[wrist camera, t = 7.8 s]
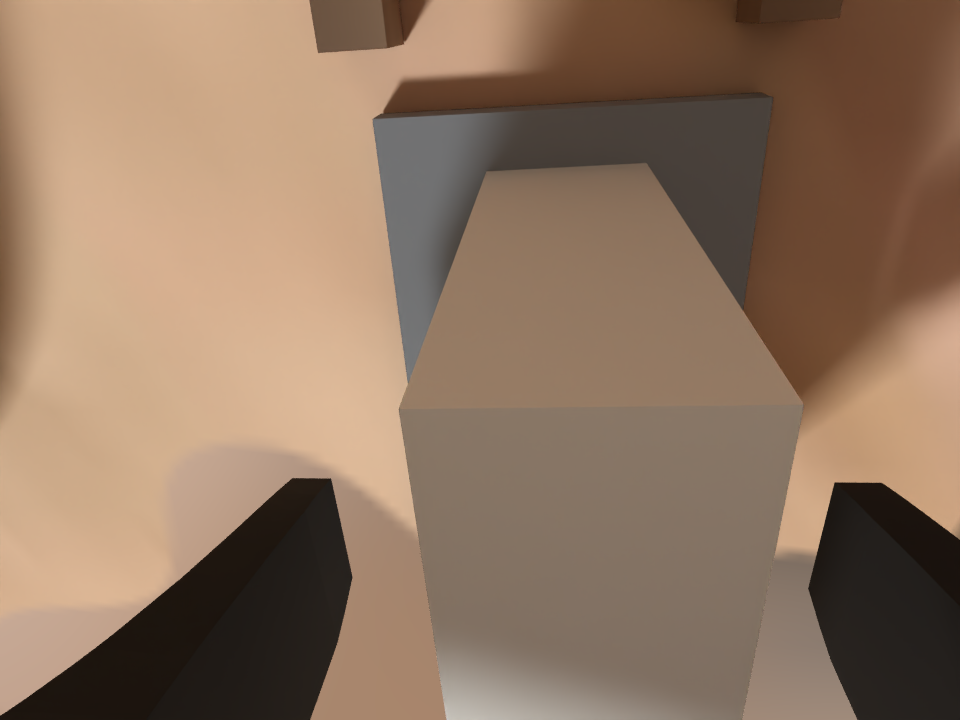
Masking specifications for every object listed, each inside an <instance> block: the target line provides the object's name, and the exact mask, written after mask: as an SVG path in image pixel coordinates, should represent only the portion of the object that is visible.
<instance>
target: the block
mask: <svg viewBox="0 0 960 720" xmlns="http://www.w3.org/2000/svg"><path fill="white" fill-rule="evenodd" d="M803 408H804V404H803V402H802V401H801V399H800V398H799V396H798V395H797V393H796V391H795V390H794V388H793V387H792V385H791V384H790V382H789V381H788V379H787V378H786V376H785V375H784V373H783V372H782V370H781V368H780V367H779V365H778V364H777V362H776V361H775V359H774V358H773V356H772V355H771V353H770V352H769V350H768V349H767V347H766V345H765V344H764V342H763V341H762V339H761V338H760V336H759V335H758V333H757V332H756V330H755V329H754V327H753V326H752V324H751V322H750V321H749V319H748V318H747V316H746V315H745V313H744V312H743V310H742V309H741V307H740V306H739V304H738V303H737V301H736V299H735V298H734V296H733V295H732V293H731V292H730V290H729V289H728V287H727V286H726V284H725V283H724V281H723V280H722V278H721V276H720V275H719V273H718V272H717V270H716V269H715V267H714V266H713V264H712V263H711V261H710V260H709V258H708V257H707V255H706V253H705V252H704V250H703V249H702V247H701V246H700V244H699V243H698V241H697V240H696V238H695V237H694V235H693V234H692V232H691V230H690V229H689V227H688V226H687V224H686V223H685V221H684V220H683V218H682V217H681V215H680V214H679V212H678V210H677V209H676V207H675V206H674V204H673V203H672V201H671V200H670V198H669V197H668V195H667V194H666V192H665V191H664V189H663V187H662V186H661V184H660V183H659V181H658V180H657V178H656V177H655V175H654V174H653V172H652V171H651V169H650V168H649V166H648V164H647V163H637V164H618V165H598V166H579V167H560V168H541V169H522V170H503V171H486V174H485V177H484V179H483V182H482V185H481V188H480V190H479V193H478V196H477V198H476V201H475V204H474V207H473V209H472V212H471V215H470V217H469V220H468V223H467V226H466V228H465V231H464V234H463V236H462V239H461V242H460V245H459V247H458V250H457V253H456V255H455V258H454V261H453V264H452V266H451V269H450V272H449V274H448V277H447V280H446V282H445V285H444V288H443V291H442V293H441V296H440V299H439V301H438V304H437V307H436V310H435V312H434V315H433V318H432V320H431V323H430V326H429V329H428V331H427V334H426V337H425V339H424V342H423V345H422V348H421V350H420V353H419V356H418V358H417V361H416V364H415V367H414V369H413V372H412V375H411V377H410V380H409V383H408V386H407V388H406V391H405V394H404V396H403V399H402V402H401V405H400V407H399V414H400V420H401V427H402V433H403V440H404V446H405V453H406V459H407V466H408V472H409V479H410V485H411V492H412V498H413V505H414V511H415V518H416V524H417V531H418V537H419V544H420V550H421V557H422V563H423V569H424V576H425V583H426V589H427V596H428V602H429V609H430V616H431V622H432V628H433V635H434V642H435V648H436V655H437V661H438V667H439V674H440V681H441V687H442V693H443V700H444V707H445V713H446V720H742V718H743V712H744V707H745V703H746V698H747V693H748V688H749V682H750V677H751V672H752V667H753V661H754V657H755V651H756V647H757V642H758V637H759V631H760V627H761V621H762V616H763V611H764V606H765V601H766V596H767V591H768V586H769V580H770V576H771V571H772V566H773V561H774V555H775V550H776V545H777V540H778V535H779V530H780V525H781V520H782V515H783V510H784V505H785V500H786V494H787V489H788V484H789V479H790V474H791V469H792V464H793V459H794V454H795V449H796V444H797V439H798V434H799V428H800V423H801V418H802V413H803Z"/></svg>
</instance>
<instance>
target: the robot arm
mask: <svg viewBox="0 0 960 720" xmlns="http://www.w3.org/2000/svg"><path fill="white" fill-rule="evenodd" d="M351 581H352V573H351V568H350V564H349V560H348V555H347V550H346V545H345V541H344V536H343V532H342V527H341V522H340V518H339V513H338V509H337V504H336V499H335V495H334V490H333V485H332V481H331V479H315V478H309V479H306V478H292V479H291V480H290V481H289V482H287V484H285V485H284V486H283V487H282V488H281V489H280V490H278V491H277V492H276V493H275V494H274V495H273V496H272V497H271V498H269V499H268V500H267V501H266V502H265V503H264V504H263V505H262V506H261V507H260V508H258V509H257V510H256V511H255V512H254V513H253V514H252V515H251V516H250V517H249V518H248V519H247V520H245V521H244V522H243V523H242V524H241V525H240V526H239V527H238V528H237V529H236V530H235V531H234V532H232V533H231V534H230V535H229V536H228V537H227V538H226V539H225V540H224V541H222V542H221V543H220V544H219V545H218V546H217V547H216V548H215V549H213V550H212V551H211V552H210V553H209V554H208V555H207V556H206V557H204V558H203V560H201V561H200V562H199V563H198V564H197V565H196V566H194V567H193V568H192V569H191V570H190V571H189V572H188V573H187V574H185V575H184V576H183V577H182V578H181V579H180V580H178V581H177V582H176V583H175V584H174V585H172V586H171V587H170V588H169V589H168V590H166V591H165V592H164V593H163V594H161V595H160V596H159V597H158V598H157V599H155V600H154V601H153V602H152V603H151V604H149V605H148V606H147V607H146V608H144V609H143V610H142V611H141V612H140V613H138V614H137V615H136V616H135V617H134V618H132V619H131V620H130V621H129V622H128V623H126V624H125V625H124V626H123V627H122V628H121V629H119V630H118V631H117V632H115V633H114V634H113V635H112V636H110V637H109V638H108V639H107V640H105V641H104V642H103V643H101V644H100V645H99V646H97V647H96V648H95V649H93V650H92V651H91V652H89V653H88V654H87V655H85V656H84V657H83V658H82V659H80V660H79V661H78V662H76V663H75V664H74V665H72V666H71V667H69V668H68V669H67V670H65V671H64V672H62V673H61V674H60V675H58V676H57V677H55V678H54V679H53V680H51V681H50V682H48V683H47V684H46V685H44V686H43V687H42V688H40V689H39V690H37V691H36V692H34V693H33V694H32V695H30V696H29V697H27V698H26V699H24V700H23V701H22V702H20V703H19V704H17V705H16V706H14V707H13V708H11V709H10V710H9V711H7V712H5V713H4V714H2V715H1V716H0V720H310V718H311V715H312V713H313V710H314V707H315V704H316V702H317V699H318V696H319V693H320V691H321V688H322V685H323V682H324V679H325V676H326V674H327V671H328V668H329V665H330V662H331V660H332V657H333V654H334V651H335V648H336V645H337V642H338V638H339V634H340V630H341V626H342V621H343V617H344V613H345V609H346V604H347V600H348V595H349V590H350V586H351ZM808 589H809V592H810V596H811V599H812V602H813V606H814V609H815V611H816V616H817V619H818V622H819V626H820V629H821V632H822V635H823V638H824V641H825V644H826V647H827V650H828V653H829V656H830V659H831V662H832V663H833V666H834V668H835V671H836V673H837V675H838V677H839V680H840V682H841V684H842V686H843V689H844V691H845V693H846V695H847V697H848V700H849V701H850V704H851V706H852V708H853V711H854V713H855V715H856V717H857V720H960V540H959V539H958V538H957V537H955V536H954V535H953V534H951V533H950V532H949V531H947V530H946V529H945V528H943V527H942V526H941V525H939V524H938V523H937V522H935V521H934V520H933V519H931V518H930V517H929V516H927V515H926V514H925V513H923V512H922V511H921V510H919V509H918V508H916V507H915V506H914V505H912V504H911V503H910V502H908V501H907V500H906V499H904V498H903V497H901V496H900V495H899V494H897V493H896V492H894V491H893V490H891V489H890V488H888V487H887V486H886V485H884V484H883V483H834V487H833V491H832V495H831V499H830V503H829V507H828V511H827V515H826V520H825V524H824V528H823V532H822V536H821V540H820V544H819V548H818V552H817V556H816V560H815V564H814V568H813V572H812V576H811V580H810V584H809V588H808Z"/></svg>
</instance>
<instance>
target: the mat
mask: <svg viewBox="0 0 960 720" xmlns="http://www.w3.org/2000/svg"><path fill="white" fill-rule="evenodd" d="M772 103H773V97H771V96H769V95H766V94H763V93H746V94H728V95H710V96H692V97H674V98H656V99H638V100H620V101H602V102H584V103H566V104H547V105H529V106H511V107H493V108H475V109H457V110H439V111H421V112H403V113H385V114H380V115H378V116H377V117H375V118H374V119H373V126H374V134H375V141H376V149H377V156H378V164H379V171H380V179H381V186H382V193H383V201H384V208H385V216H386V223H387V231H388V238H389V246H390V253H391V261H392V268H393V276H394V283H395V290H396V298H397V305H398V313H399V320H400V328H401V335H402V343H403V350H404V358H405V365H406V372H407V380H408V383H409V380H410V377H411V375H412V372H413V369H414V367H415V364H416V361H417V358H418V356H419V353H420V350H421V348H422V345H423V342H424V339H425V337H426V334H427V331H428V329H429V326H430V323H431V320H432V318H433V315H434V312H435V310H436V307H437V304H438V301H439V299H440V296H441V293H442V291H443V288H444V285H445V282H446V280H447V277H448V274H449V272H450V269H451V266H452V264H453V261H454V258H455V255H456V253H457V250H458V247H459V245H460V242H461V239H462V236H463V234H464V231H465V228H466V226H467V223H468V220H469V217H470V215H471V212H472V209H473V207H474V204H475V201H476V198H477V196H478V193H479V190H480V188H481V185H482V182H483V179H484V177H485V174H486V171H503V170H522V169H541V168H560V167H579V166H598V165H618V164H637V163H647V164H648V166H649V168H650V169H651V171H652V172H653V174H654V175H655V177H656V178H657V180H658V181H659V183H660V184H661V186H662V187H663V189H664V191H665V192H666V194H667V195H668V197H669V198H670V200H671V201H672V203H673V204H674V206H675V207H676V209H677V210H678V212H679V214H680V215H681V217H682V218H683V220H684V221H685V223H686V224H687V226H688V227H689V229H690V230H691V232H692V234H693V235H694V237H695V238H696V240H697V241H698V243H699V244H700V246H701V247H702V249H703V250H704V252H705V253H706V255H707V257H708V258H709V260H710V261H711V263H712V264H713V266H714V267H715V269H716V270H717V272H718V273H719V275H720V276H721V278H722V280H723V281H724V283H725V284H726V286H727V287H728V289H729V290H730V292H731V293H732V295H733V296H734V298H735V299H736V301H737V303H738V304H739V306H740V307H741V309H742V310H743V307H744V300H745V293H746V286H747V279H748V272H749V265H750V258H751V251H752V244H753V237H754V230H755V223H756V216H757V209H758V201H759V194H760V187H761V180H762V173H763V166H764V159H765V152H766V145H767V138H768V131H769V124H770V117H771V110H772Z"/></svg>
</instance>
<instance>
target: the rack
mask: <svg viewBox="0 0 960 720" xmlns="http://www.w3.org/2000/svg"><path fill="white" fill-rule="evenodd" d="M310 6H311V13H312V19H313V25H314V31H315V37H316V43H317V49H318V53H323V52H338V51H353V50H368V49H383V48H390V47H394V46H398V45H402V44H404V42H403V32H402V23H401V14H400V4H399V0H310ZM841 6H842V0H738V6H737V15H736V22H746V23H773V22H788V21H803V20H818V19H833V18H839V17H840V12H841Z"/></svg>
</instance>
